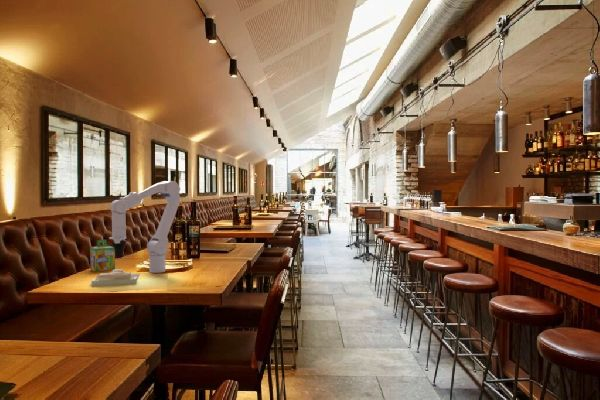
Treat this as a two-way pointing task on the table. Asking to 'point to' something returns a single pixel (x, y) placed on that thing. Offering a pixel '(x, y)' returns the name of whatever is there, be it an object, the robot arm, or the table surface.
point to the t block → (115, 275)
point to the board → (122, 284)
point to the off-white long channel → (114, 282)
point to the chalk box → (102, 257)
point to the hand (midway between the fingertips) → (119, 257)
